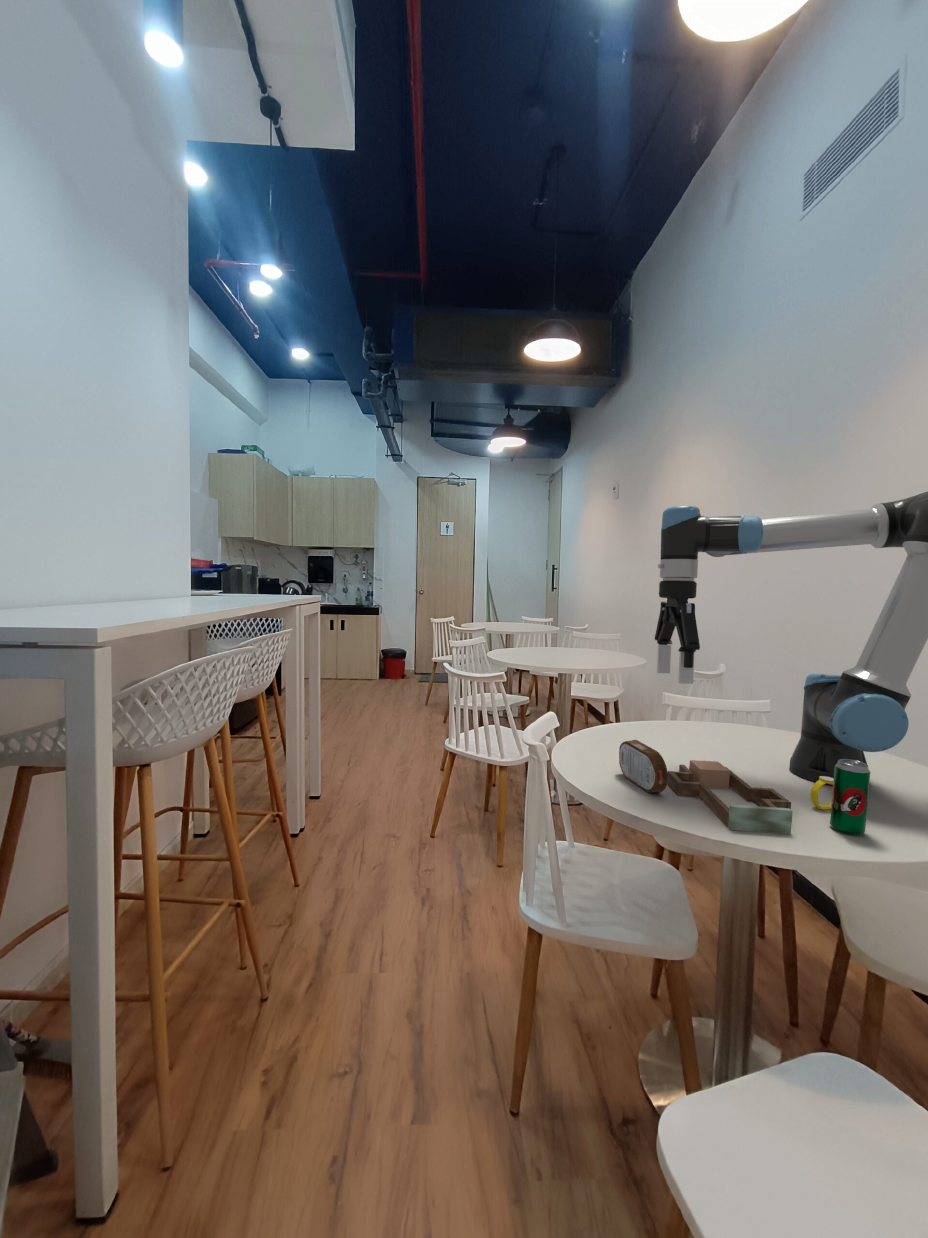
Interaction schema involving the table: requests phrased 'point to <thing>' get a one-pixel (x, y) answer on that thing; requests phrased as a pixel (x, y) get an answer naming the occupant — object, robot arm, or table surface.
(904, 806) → the table surface
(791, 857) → the table surface
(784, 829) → the box
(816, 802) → the watch
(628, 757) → the tin
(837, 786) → the soda can
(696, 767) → the block
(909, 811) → the table surface
